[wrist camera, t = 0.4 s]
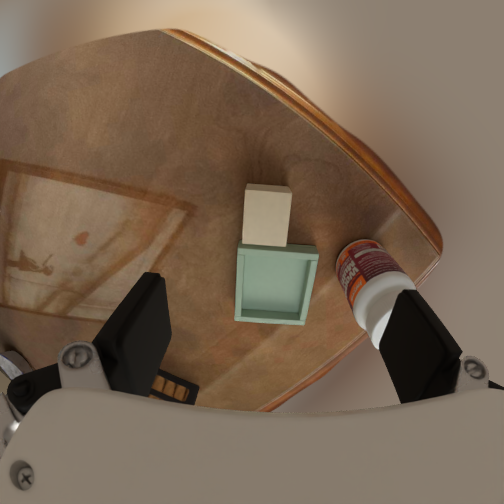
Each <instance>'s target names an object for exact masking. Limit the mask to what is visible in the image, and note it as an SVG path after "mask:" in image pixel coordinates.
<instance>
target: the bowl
mask: <svg viewBox="0 0 504 504" xmlns="http://www.w3.org/2000/svg"><path fill="white" fill-rule="evenodd" d="M0 366H1V367H2V368H3V370H4V371H5V372H6V373H7V375H8V376H9V377H10V378H11V379H12V380H13V379H14V378H15V377H17V376H19V375H22V374H25V373H28V372H31V371H32V368H31V367H30V365H29V364H28V362H27V361H26V360H25V359H24V358H23V357H22V356H21V355H20V354H18V353H17V352H15V351H7V352H2V353H0Z"/></svg>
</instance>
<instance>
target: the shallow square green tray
mask: <svg viewBox="0 0 504 504" xmlns="http://www.w3.org/2000/svg"><path fill="white" fill-rule="evenodd" d="M318 258H319V253H318V251H317V249H316V246H310V245H298V244H286V247H280V246H267V245H254V244H242V240H239V244H238V250H237V272H236V295H235V321H245V322H258V323H272V324H290V325H305V320H306V316H307V312H308V307H309V303H310V298H311V293H312V288H313V284H314V279H315V274H316V268H317V263H318Z"/></svg>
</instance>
